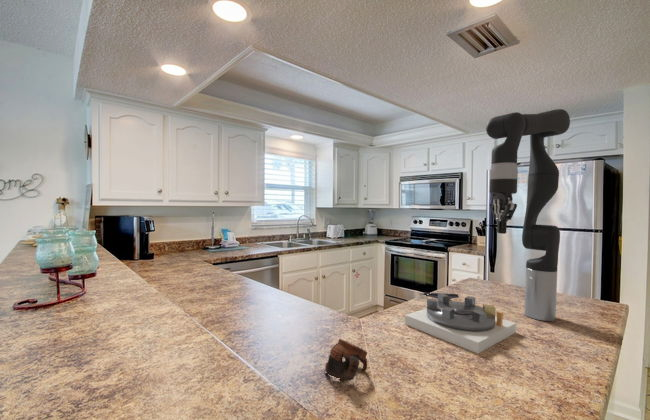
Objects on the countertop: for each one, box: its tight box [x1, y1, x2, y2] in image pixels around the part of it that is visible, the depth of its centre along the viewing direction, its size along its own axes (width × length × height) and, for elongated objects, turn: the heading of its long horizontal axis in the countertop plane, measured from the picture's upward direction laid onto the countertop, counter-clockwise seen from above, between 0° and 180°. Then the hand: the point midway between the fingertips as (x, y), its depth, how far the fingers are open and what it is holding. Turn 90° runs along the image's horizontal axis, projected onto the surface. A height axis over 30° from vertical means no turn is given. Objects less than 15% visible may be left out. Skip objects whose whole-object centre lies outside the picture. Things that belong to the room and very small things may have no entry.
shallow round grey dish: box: [426, 293, 497, 331], centre depth 98 cm, size 20×20×5 cm
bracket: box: [422, 292, 459, 301], centre depth 127 cm, size 14×15×3 cm
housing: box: [404, 307, 517, 354], centre depth 98 cm, size 24×24×7 cm
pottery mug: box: [324, 338, 368, 381], centre depth 70 cm, size 12×10×8 cm
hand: (501, 233), depth 97 cm, fingers closed
